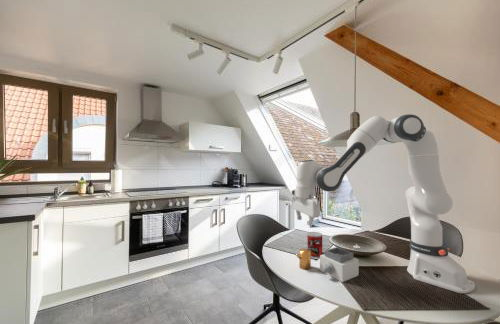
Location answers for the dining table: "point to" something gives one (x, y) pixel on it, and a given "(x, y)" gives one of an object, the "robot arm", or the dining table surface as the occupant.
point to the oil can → (304, 259)
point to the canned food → (314, 243)
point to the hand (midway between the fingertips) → (304, 222)
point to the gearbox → (339, 264)
